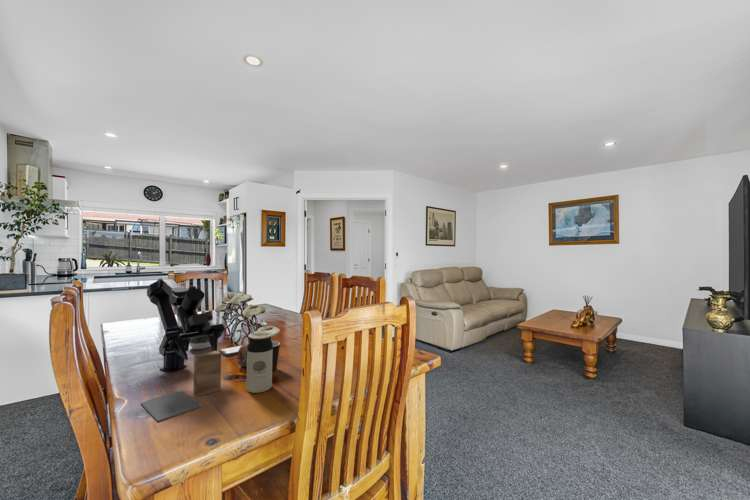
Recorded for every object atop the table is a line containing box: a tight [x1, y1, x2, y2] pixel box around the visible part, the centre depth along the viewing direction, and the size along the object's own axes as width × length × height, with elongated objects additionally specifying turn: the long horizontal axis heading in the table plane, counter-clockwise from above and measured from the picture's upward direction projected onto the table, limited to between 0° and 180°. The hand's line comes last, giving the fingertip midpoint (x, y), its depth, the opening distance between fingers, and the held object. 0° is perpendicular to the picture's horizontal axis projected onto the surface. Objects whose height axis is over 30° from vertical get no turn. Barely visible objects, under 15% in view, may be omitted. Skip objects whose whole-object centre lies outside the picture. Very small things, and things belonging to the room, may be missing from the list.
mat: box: [140, 390, 202, 423], centre depth 92 cm, size 15×11×1 cm
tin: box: [236, 342, 249, 368], centre depth 129 cm, size 15×3×8 cm, turn 168°
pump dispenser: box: [189, 321, 212, 351], centre depth 147 cm, size 10×10×15 cm
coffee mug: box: [271, 340, 281, 373], centre depth 122 cm, size 12×9×10 cm
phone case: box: [219, 345, 242, 357], centre depth 144 cm, size 9×2×16 cm
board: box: [192, 350, 222, 397], centre depth 102 cm, size 4×7×12 cm, turn 141°
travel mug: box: [246, 331, 273, 394], centre depth 105 cm, size 8×8×18 cm
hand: (201, 356), depth 105 cm, fingers open, 9 cm apart
